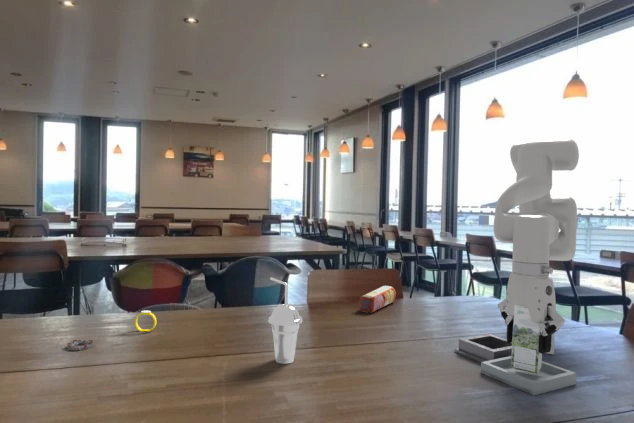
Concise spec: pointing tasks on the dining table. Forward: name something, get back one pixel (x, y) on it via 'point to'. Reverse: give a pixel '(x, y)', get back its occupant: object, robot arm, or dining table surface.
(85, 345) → the donut
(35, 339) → the dining table surface
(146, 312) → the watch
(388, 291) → the snack package
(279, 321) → the cup with straw
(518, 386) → the tray
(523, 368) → the syrup box
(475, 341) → the socket
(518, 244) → the robot arm
